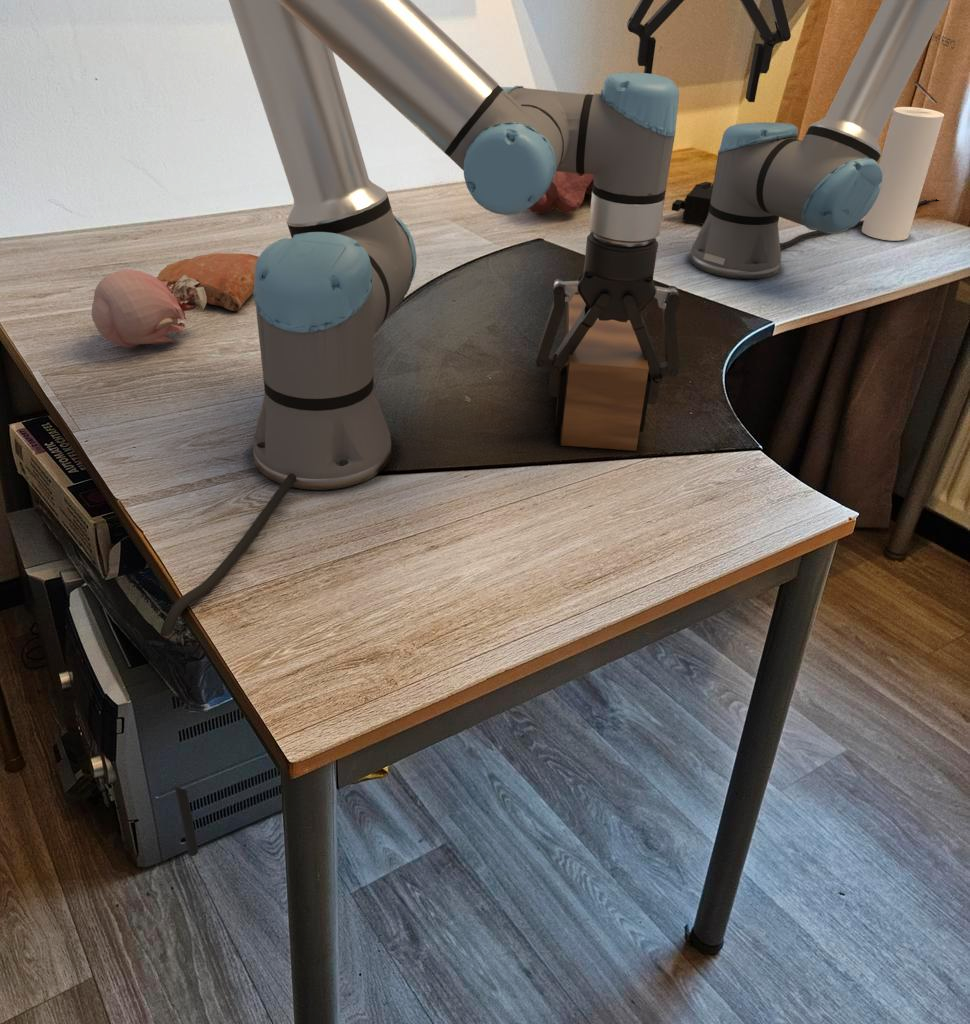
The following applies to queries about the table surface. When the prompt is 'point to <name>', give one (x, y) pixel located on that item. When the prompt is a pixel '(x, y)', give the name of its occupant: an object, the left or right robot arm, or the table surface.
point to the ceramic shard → (217, 277)
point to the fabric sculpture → (565, 193)
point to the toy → (696, 203)
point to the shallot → (143, 307)
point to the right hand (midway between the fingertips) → (697, 97)
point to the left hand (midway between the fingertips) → (599, 423)
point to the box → (603, 385)
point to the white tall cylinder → (903, 169)
